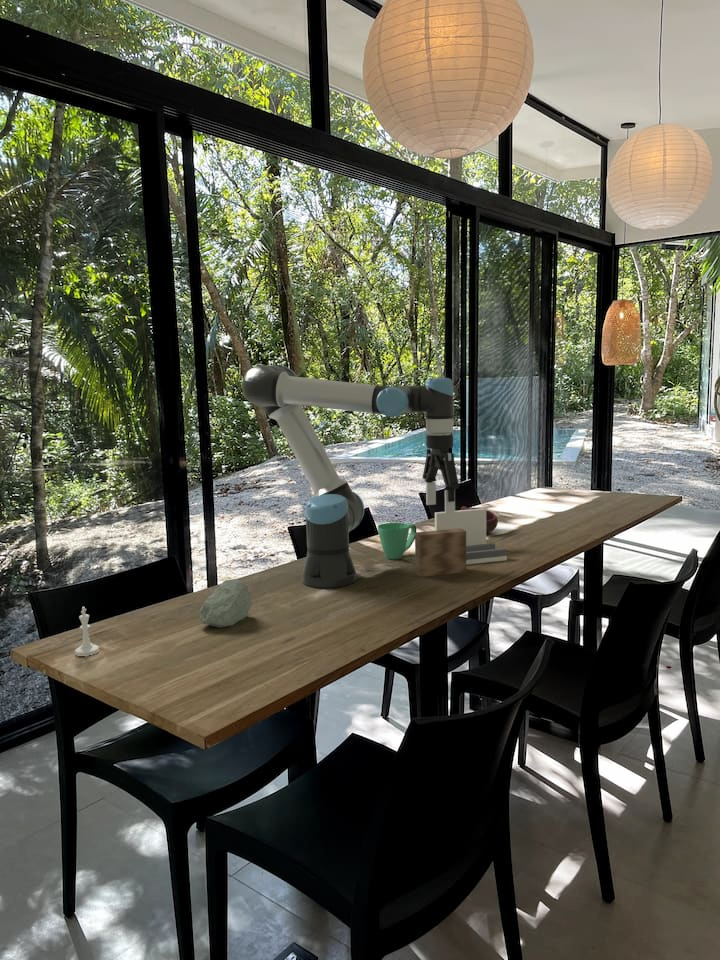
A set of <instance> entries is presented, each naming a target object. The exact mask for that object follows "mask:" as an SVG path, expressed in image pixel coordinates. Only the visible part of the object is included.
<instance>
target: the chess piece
mask: <svg viewBox="0 0 720 960" xmlns="http://www.w3.org/2000/svg"><path fill="white" fill-rule="evenodd" d="M86 611H87V608H85V606H82V608H81V611H80V614H81V615H79V616H78V618H79V620H80V623H81V625H80V626H79V629H80V630H82V642H81V643H82V644H80V646H79V647H77V648H76V649H74V655H75V656H76V655H77V656H76V657H79V656H85V657H90V656H89V655H91V656H93V654H94V655H96V654H98V653H99V652H100V647H99V646H98V645H96V644H93V643H92V642H91V639H90V634H89V629H90V628H91V625H90V624H88V622H89V620H90V619H89V618H90V614H87V613H86Z"/></svg>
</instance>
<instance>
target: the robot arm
mask: <svg viewBox="0 0 720 960" xmlns="http://www.w3.org/2000/svg"><path fill="white" fill-rule="evenodd" d="M242 379H243V380H242V382H241V383H242V384H241V387H242V392H243V396H244V397H245V398H246V400H247V401H248V402H249V403H250V404H252V405H254V406H257V407H262V408H263V409H264V410H265V413H266V415H267V416H268V418H269V419H272V420H275V421H276V422H277V424H278V426H279V429H280V431H281V432H282V434H283V436H284V438H285V439H286V442H287V444H288V445H289V447H290V449H291V451H292V453H293V455H294V456H295V459H296V460H297V463H298V464H299V466H300V468H301V470H302V471H303V474H304V476H305V477H306V480H307V481H308V484H309V485H310V487H311V489H312V491H313V495H312V497H311V498H310V499H308V500H307V501H306V503H305V513H304V516H305V527H306V531H305V532H306V547H307V550H306V551H307V552H306V558H305V561H304V565H303V569H302V573H301V581H302V584H304V585H306V586H308V587H312V588H323V589H324V588H325V589H326V588H328V589H329V588H339V587H345V586H348V585H351V584H352V583H355V582H356V581H357V571H356V568H355V565H354V563H353V560H352V557H351V554H350V539H349V538H350V537H349V534H350V532H351V531H353V530H355V529H356V528H358V526H359V525H360V523H361V521H362V520H363V519H364V518H363V517H364V515H365V505H364V502H363V499H362V498H361V496H359V495H358V493H356V492H355V491H353V490H352V488H351V487H350V485H349V482H348V481H347V480H344V479H341V478H340V477H339V475H338V473H337V471H336V469H335V467H334V465H333V463H332V461H331V460H330V458H329V456H328V454H327V451H326V450H325V447H324V446H323V444H322V441H320V439H319V437H318V435H317V432H316V431H315V429H314V427H313V425H312V424H311V423H312V422H311V421H310V420H309V417H308V416H307V414H306V411H305V410H304V408H303V406H305V407H314V408H315V407H316V408H324V409H332V410H343V411H350V412H359V413H360V412H361V413H368V414H377V415H383V416H384V417H385V416H386V417H390V418H391V417H392V418H394V417H395V418H397V417H399V416H400V415H404V414H411V413H413V414H414V413H416V414H421V413H422V414H423V413H425V415H426V416H425V432H426V434H427V435H426V437H425V438H426V439H425V441H426V442H425V444H426V445H425V446H426V448H427V449H426V457H425V462H424V469H423V472H422V479H423V480H424V481H425V492H426V495H425V500H426V502H425V505H426V506H430V505H431V506H433V505H437V495H436V494H437V488H436V487H437V486H436V485H437V479H436V477H437V475H438V472H439V471H440V472H441V476H442V479H443V482H444V483H443V484H444V485H445V486H444V488H443V490H444V512H445V513H455V511H456V490H457V489H459V488H460V485H459V484H460V483H459V478H458V474H457V469H456V465H455V463H456V462H455V455H454V453H453V452H449V449H453V447H454V435H453V432H454V425H455V421H454V389H453V387H454V386H453V380H452V379H451V378H449V377H435V378H432V377H430V378H429V377H428V378H426V380H425V383H424V385H391V386H388V385H377V384H367V383H358V382H348V381H341V380H340V381H338V380H330V379H322V378H321V379H320V378H313V377H312V378H311V377H310V378H309V377H302V376H297V373H295V372H294V371H293V370H292V369H290V368H289V367H287V366H285V365H281V364H271V365H265V364H264V365H263V364H261V365H256V366H254V367H252V368H250V369H249V370H248V371H247V372H246V373H245V374H244V376H243V378H242Z"/></svg>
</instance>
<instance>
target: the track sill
mask: <svg viewBox="0 0 720 960" xmlns="http://www.w3.org/2000/svg"><path fill="white" fill-rule="evenodd" d="M470 509H471V508H470ZM486 510H487V508H478V509H471V510H461V509H460V510H455V513H445V511H438V512H434V531H437V530H448V529H459V528H461V529H463V530H465V531H466V566H467V565H474V564H482V563H483V564H485V563H494V562H502V561H507V560H508V556H507V554H506V553H507V549H506V548H503V547H502V548H496V543H495V542H492V543H487V533H486Z"/></svg>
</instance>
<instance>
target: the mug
mask: <svg viewBox="0 0 720 960" xmlns="http://www.w3.org/2000/svg"><path fill="white" fill-rule="evenodd" d="M377 531H378V537H379V540H380V545H381V548H382V551H383V553H384V555H385V557H386V559H388V560H399V559H402V558H403V555H404V553H405V552H407V551H408V549H410V548H411V547H412V545H413V543H414V542H415V532H417V526H416V525H415V523H402V522H385V523H381V524H378V525H377ZM409 533H410V534H409Z"/></svg>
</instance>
